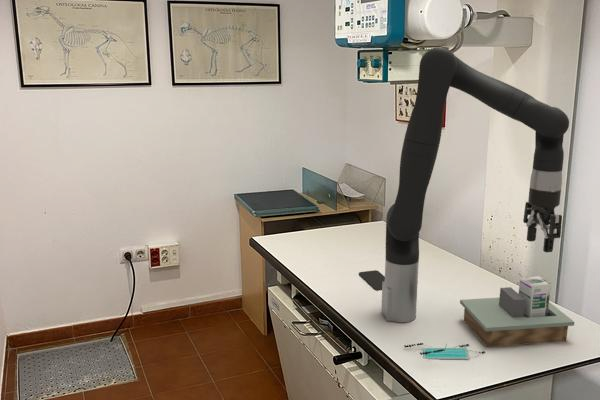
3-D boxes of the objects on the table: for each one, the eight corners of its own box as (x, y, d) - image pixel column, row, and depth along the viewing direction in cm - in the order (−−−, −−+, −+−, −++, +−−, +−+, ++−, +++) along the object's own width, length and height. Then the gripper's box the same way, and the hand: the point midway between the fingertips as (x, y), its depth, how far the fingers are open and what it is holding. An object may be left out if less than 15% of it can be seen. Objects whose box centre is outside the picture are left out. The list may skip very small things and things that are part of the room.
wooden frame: (486, 346, 153) (488, 329, 152) (463, 320, 168) (464, 304, 166) (566, 341, 156) (568, 323, 155) (536, 315, 171) (538, 299, 169)
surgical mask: (417, 355, 142) (398, 335, 151) (416, 371, 143) (398, 351, 152) (492, 342, 148) (469, 324, 157) (490, 358, 149) (468, 339, 158)
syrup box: (528, 335, 159) (533, 285, 155) (514, 326, 165) (519, 277, 161) (546, 333, 161) (552, 283, 157) (532, 323, 166) (537, 275, 162)
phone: (375, 289, 188) (357, 272, 202) (375, 292, 188) (357, 274, 202) (396, 287, 190) (377, 269, 204) (396, 289, 190) (377, 272, 204)
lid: (486, 331, 151) (487, 309, 149) (460, 303, 167) (461, 283, 166) (574, 325, 154) (576, 304, 152) (540, 298, 170) (542, 278, 169)
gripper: (518, 180, 159) (512, 238, 163) (546, 193, 145) (539, 256, 149) (544, 179, 159) (538, 237, 164) (575, 192, 146) (567, 254, 150)
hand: (539, 246), depth 156 cm, fingers open, 8 cm apart
